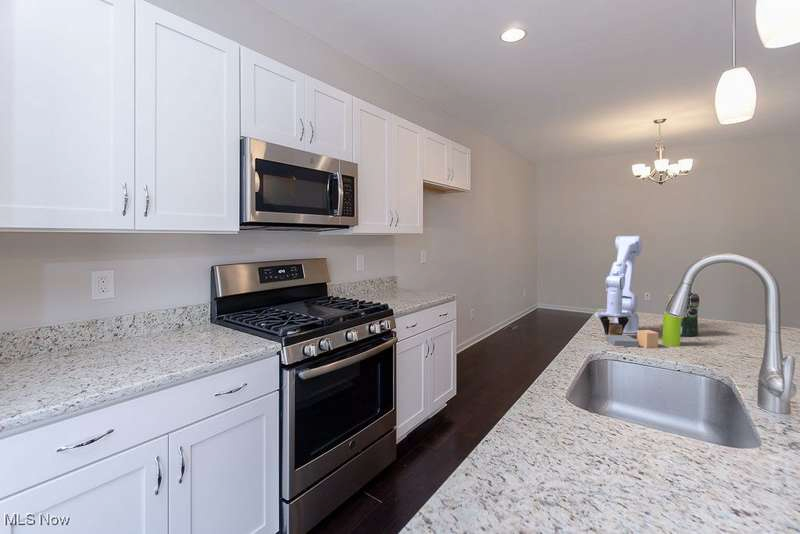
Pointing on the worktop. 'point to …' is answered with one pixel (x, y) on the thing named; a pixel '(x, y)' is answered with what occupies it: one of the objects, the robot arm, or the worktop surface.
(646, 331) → the orange faceted block
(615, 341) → the gray slab
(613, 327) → the walnut cube
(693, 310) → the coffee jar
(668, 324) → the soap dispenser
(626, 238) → the robot arm
